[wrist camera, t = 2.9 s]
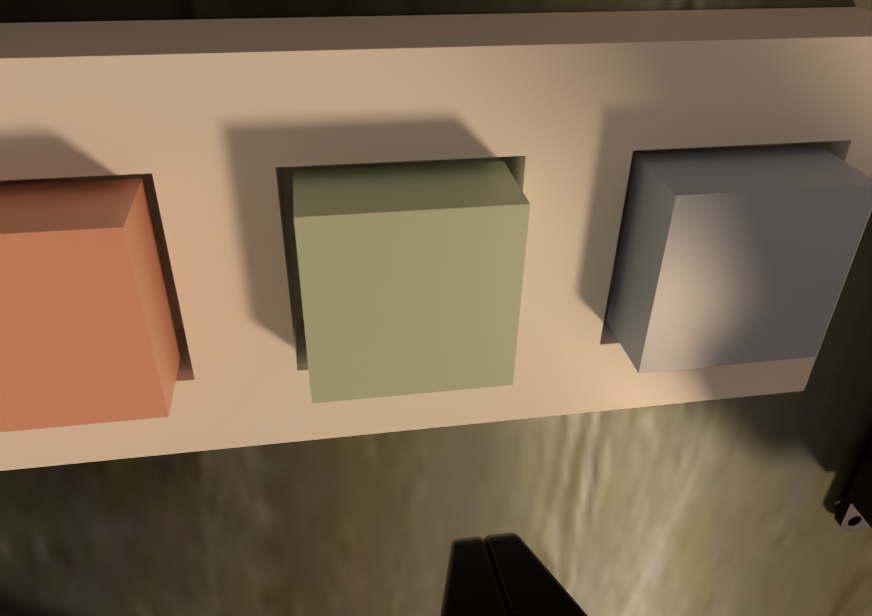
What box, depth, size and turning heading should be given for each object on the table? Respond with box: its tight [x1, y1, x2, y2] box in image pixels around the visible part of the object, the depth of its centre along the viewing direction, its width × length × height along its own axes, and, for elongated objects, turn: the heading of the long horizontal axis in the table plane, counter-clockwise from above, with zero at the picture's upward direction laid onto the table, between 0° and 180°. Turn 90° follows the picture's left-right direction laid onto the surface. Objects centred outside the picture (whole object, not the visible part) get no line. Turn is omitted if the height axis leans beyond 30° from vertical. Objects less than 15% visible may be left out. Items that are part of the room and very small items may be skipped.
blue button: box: [606, 146, 872, 373], centre depth 16 cm, size 4×4×2 cm
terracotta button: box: [0, 178, 181, 432], centre depth 14 cm, size 4×4×2 cm
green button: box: [293, 161, 530, 403], centre depth 15 cm, size 4×4×2 cm
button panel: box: [0, 7, 872, 471], centre depth 17 cm, size 21×9×2 cm, turn 89°
